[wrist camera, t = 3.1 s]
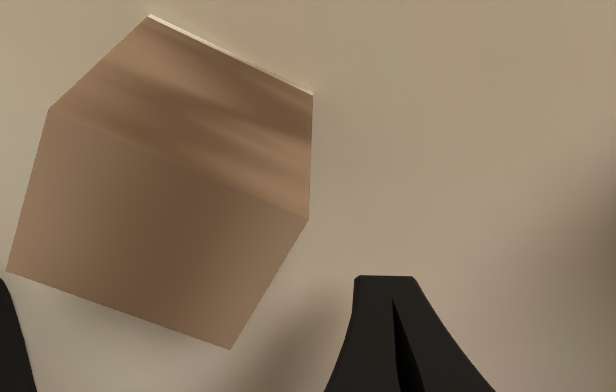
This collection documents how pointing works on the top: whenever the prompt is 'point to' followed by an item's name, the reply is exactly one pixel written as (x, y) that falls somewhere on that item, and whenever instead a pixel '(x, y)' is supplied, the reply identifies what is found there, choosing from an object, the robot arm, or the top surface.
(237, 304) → the walnut block
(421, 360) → the robot arm
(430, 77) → the top surface
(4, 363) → the film camera
